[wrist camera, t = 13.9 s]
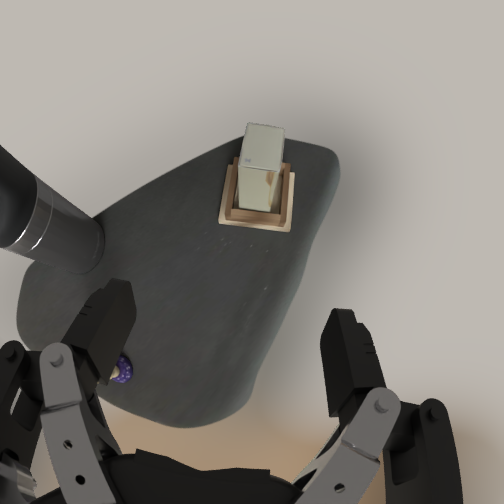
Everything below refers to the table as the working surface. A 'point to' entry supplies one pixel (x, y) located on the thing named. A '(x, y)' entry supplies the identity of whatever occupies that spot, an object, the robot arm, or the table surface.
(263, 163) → the skincare box
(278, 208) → the wooden tray
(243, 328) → the table surface
